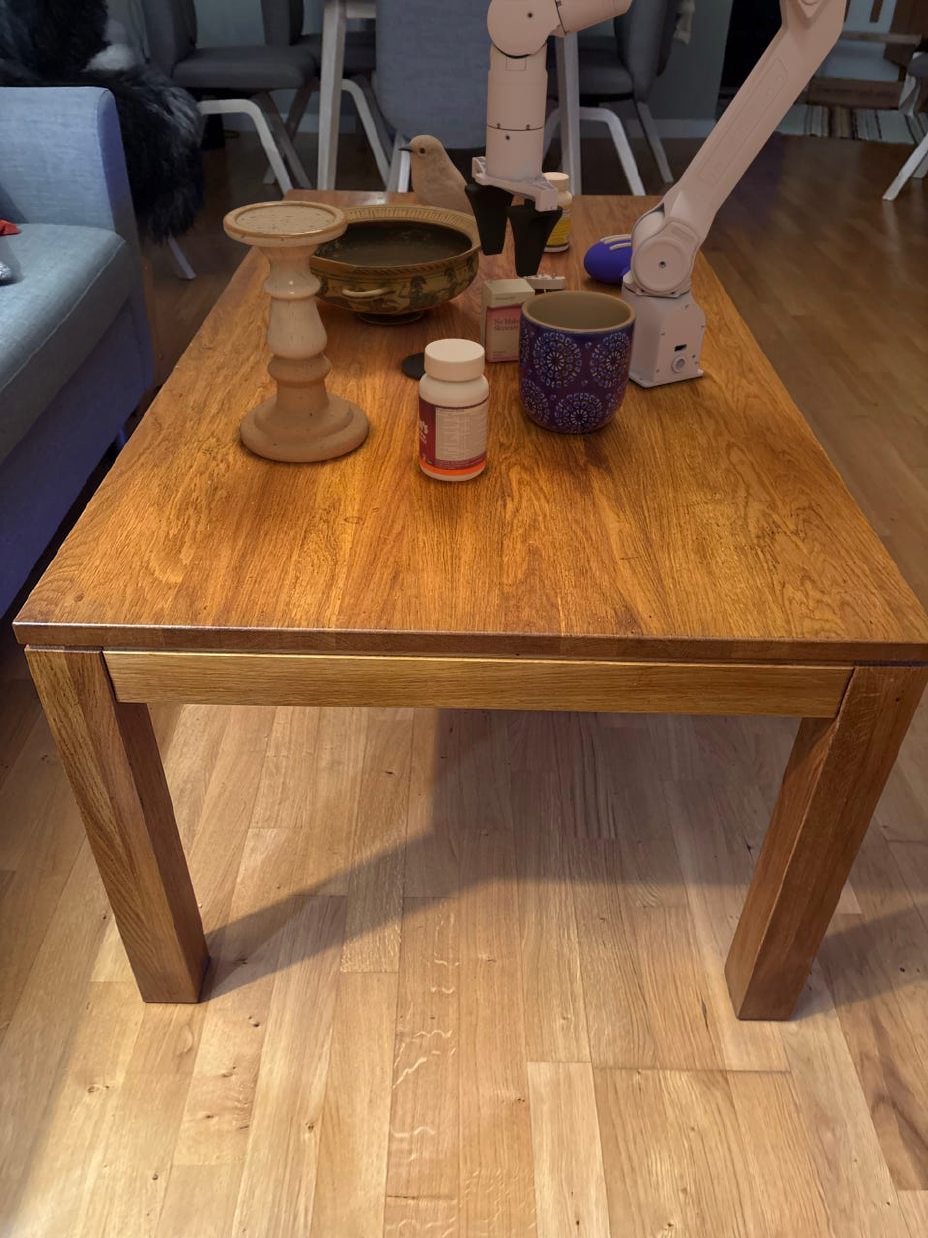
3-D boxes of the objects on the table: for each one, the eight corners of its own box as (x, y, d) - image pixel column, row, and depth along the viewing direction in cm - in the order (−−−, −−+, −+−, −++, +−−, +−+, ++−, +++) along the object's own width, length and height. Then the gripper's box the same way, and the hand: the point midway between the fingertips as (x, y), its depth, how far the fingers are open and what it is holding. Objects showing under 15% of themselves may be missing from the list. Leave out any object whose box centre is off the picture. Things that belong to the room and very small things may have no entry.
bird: (397, 245, 141) (394, 132, 132) (485, 239, 144) (489, 128, 135) (404, 255, 137) (401, 139, 128) (495, 249, 140) (499, 135, 131)
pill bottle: (417, 452, 91) (415, 335, 84) (482, 450, 92) (486, 334, 85) (421, 485, 87) (420, 364, 80) (489, 482, 87) (494, 362, 80)
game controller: (556, 281, 130) (558, 261, 128) (587, 312, 121) (590, 291, 120) (516, 284, 129) (517, 264, 127) (544, 316, 120) (546, 295, 118)
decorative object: (596, 241, 122) (578, 229, 131) (591, 289, 125) (574, 274, 134) (677, 243, 123) (654, 231, 132) (670, 291, 126) (648, 276, 135)
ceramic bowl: (325, 268, 133) (319, 190, 126) (499, 279, 130) (502, 201, 124) (257, 354, 109) (246, 264, 103) (468, 370, 107) (470, 278, 100)
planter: (640, 411, 99) (655, 303, 92) (595, 454, 92) (608, 340, 85) (544, 386, 103) (552, 281, 97) (495, 426, 96) (499, 315, 89)
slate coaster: (476, 374, 106) (476, 370, 105) (417, 385, 103) (417, 381, 103) (448, 351, 111) (448, 347, 110) (391, 361, 108) (391, 357, 108)
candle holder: (230, 415, 97) (200, 202, 84) (350, 398, 100) (337, 192, 88) (254, 473, 88) (224, 244, 75) (384, 452, 91) (376, 230, 79)
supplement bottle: (525, 243, 143) (528, 172, 137) (557, 239, 145) (562, 169, 139) (542, 254, 139) (547, 181, 133) (575, 250, 141) (581, 178, 135)
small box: (488, 363, 108) (490, 292, 103) (478, 348, 111) (481, 279, 106) (531, 360, 109) (536, 290, 104) (521, 345, 112) (525, 276, 107)
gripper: (446, 113, 99) (446, 249, 108) (516, 143, 89) (509, 290, 97) (507, 108, 102) (501, 241, 110) (581, 137, 92) (568, 281, 100)
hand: (509, 264), depth 104 cm, fingers open, 7 cm apart
